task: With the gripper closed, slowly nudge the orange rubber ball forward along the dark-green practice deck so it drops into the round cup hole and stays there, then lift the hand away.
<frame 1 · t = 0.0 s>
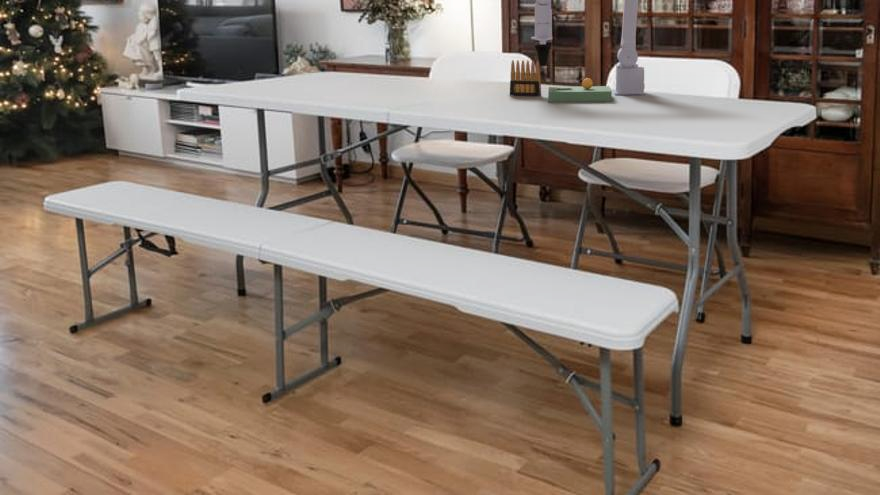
hand: (543, 64, 336), 10 cm above the table, tool pointing down, fingers open, 7 cm apart
ball: (587, 83, 324), point 5 cm above the table, touching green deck
ammunition clip: (525, 96, 338), on the table
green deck: (579, 99, 325), on the table
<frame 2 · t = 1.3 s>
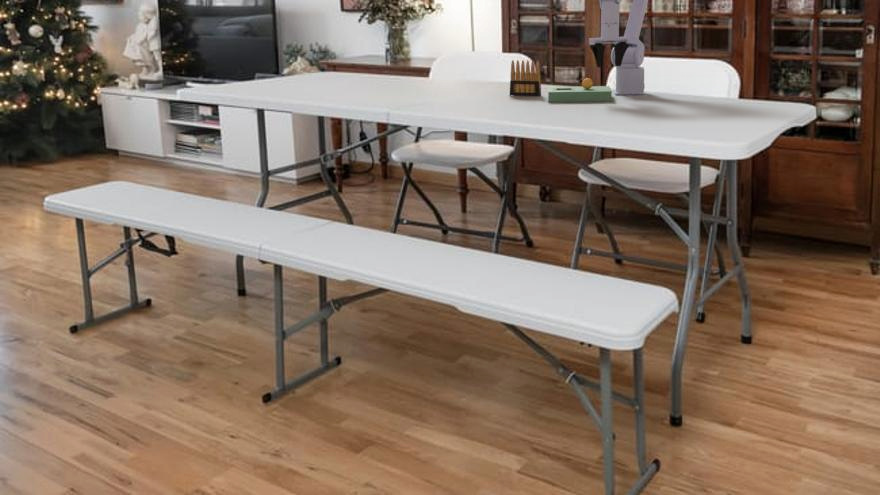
hand: (608, 66, 321), 10 cm above the table, tool pointing down, fingers open, 7 cm apart
nothing on the table moved.
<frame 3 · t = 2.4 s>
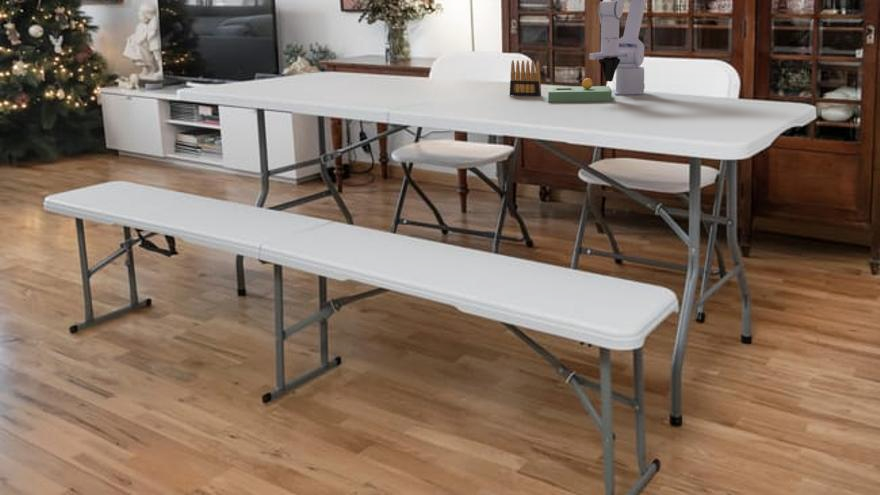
hand: (609, 81, 322), 6 cm above the table, tool pointing down, fingers closed
nothing on the table moved.
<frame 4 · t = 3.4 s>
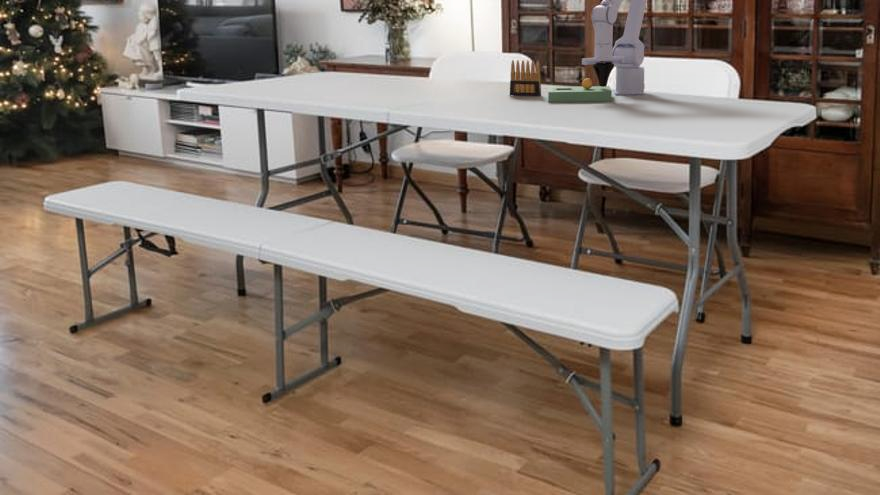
hand: (602, 86, 323), 4 cm above the table, tool pointing down, fingers closed
nothing on the table moved.
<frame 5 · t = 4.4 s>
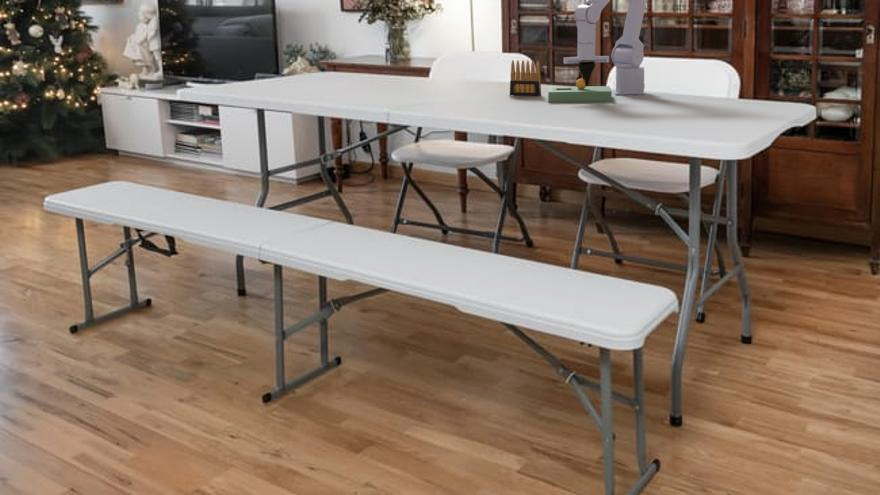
hand: (585, 85, 324), 4 cm above the table, tool pointing down, fingers closed, pressing on ball
ball: (581, 83, 324), point 5 cm above the table, tilted 60°, touching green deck, gripper
everything else where it was.
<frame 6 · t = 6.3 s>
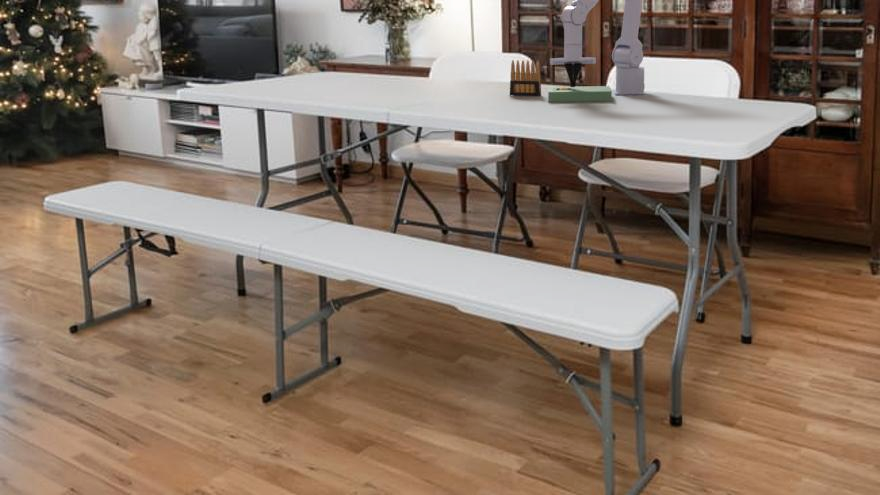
hand: (572, 86, 324), 4 cm above the table, tool pointing down, fingers closed
ball: (563, 92, 326), point 2 cm above the table, tilted 84°, touching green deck
everything else where it was.
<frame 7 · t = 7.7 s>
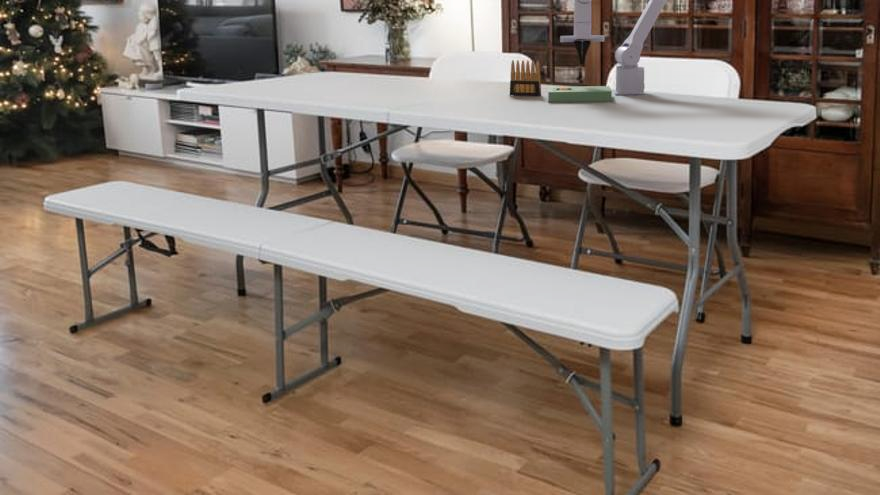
hand: (581, 64, 332), 10 cm above the table, tool pointing down, fingers closed
nothing on the table moved.
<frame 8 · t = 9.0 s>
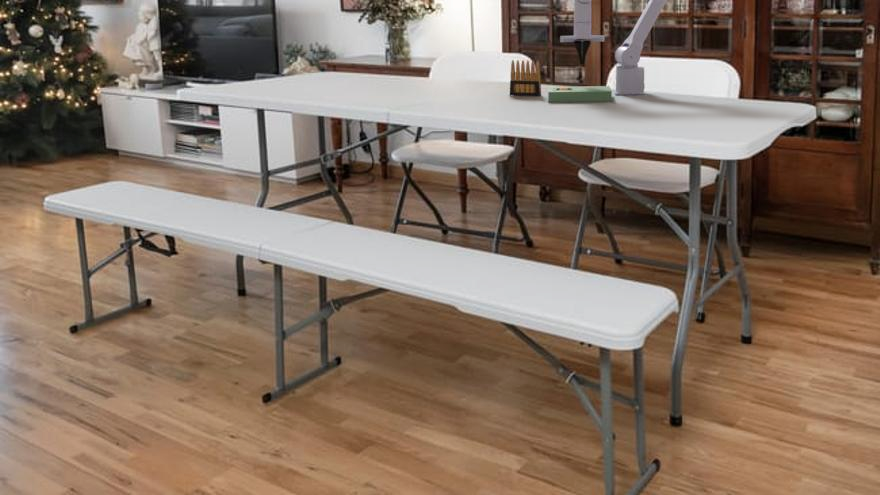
hand: (581, 64, 332), 10 cm above the table, tool pointing down, fingers closed
nothing on the table moved.
at the end: ball 0.5 cm from the target spot on the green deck, point 2.0 cm above the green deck's base; the gripper is holding nothing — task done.
